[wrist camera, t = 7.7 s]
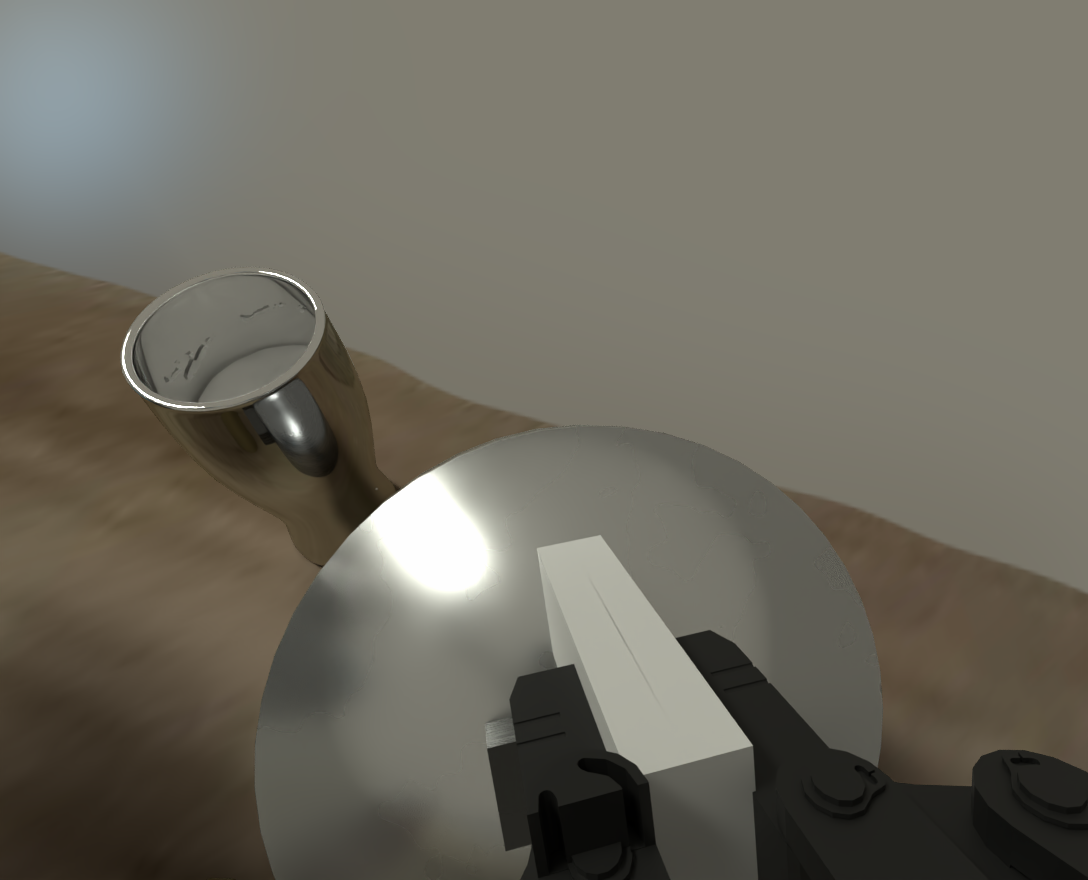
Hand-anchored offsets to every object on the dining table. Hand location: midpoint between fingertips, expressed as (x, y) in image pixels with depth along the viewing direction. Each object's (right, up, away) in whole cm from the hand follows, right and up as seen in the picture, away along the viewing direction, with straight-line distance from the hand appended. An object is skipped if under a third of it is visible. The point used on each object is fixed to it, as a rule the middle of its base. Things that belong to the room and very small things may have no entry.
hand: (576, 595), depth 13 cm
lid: (0, -4, +2) cm, 5 cm away
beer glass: (-12, -1, +19) cm, 22 cm away
